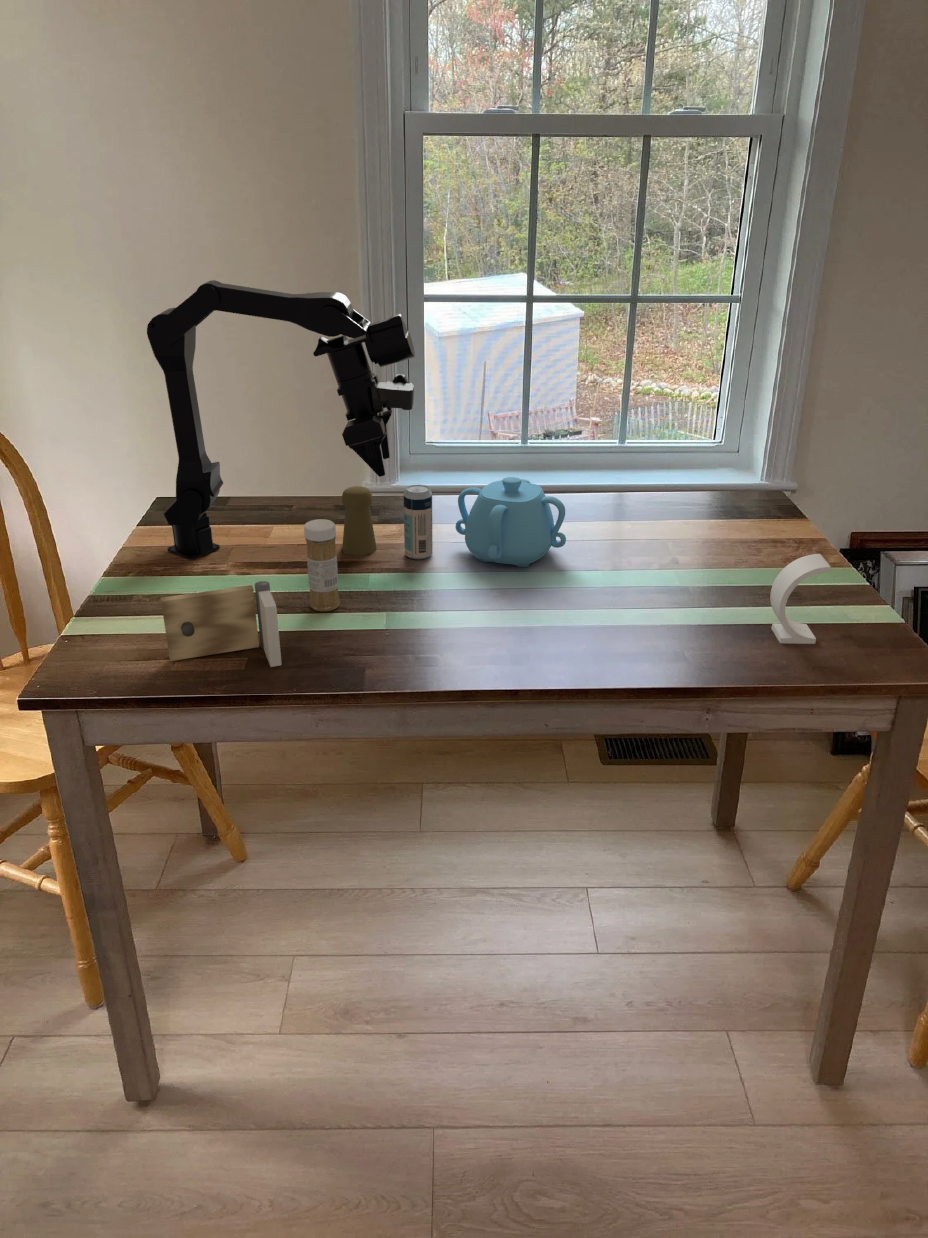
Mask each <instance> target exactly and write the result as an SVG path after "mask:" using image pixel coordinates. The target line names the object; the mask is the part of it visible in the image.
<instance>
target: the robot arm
mask: <svg viewBox="0 0 928 1238" xmlns="http://www.w3.org/2000/svg"><path fill="white" fill-rule="evenodd" d="M215 311H216V312H225V313H231V314H237V315H244V316H250V317H257V318H264V319H269V320H275V321H276V320H278V321H283V322H289V323H292V324H295V325H297V326H298V327H301V328H303V329H306V330H308V331H311V332H313V333H316V334H319V335H321V336H320V337H319V338H318V340H317V341H318V342H317V345H316V348H315V349H314V351H313V353H312V355H313V356H314V357H320V356H322V355H327V357H328V360H329V364H330V366H331V369H332V371H333V374H334V378H335V380H336V383H337V385H338V387H337V388H336V391H337V395H338V397H341V398H342V401H343V404H344V407H345V410H346V413H345V418H346V420H347V423H346V425H345V427H344V429H343V431H342V434H341V436H342V439H343V441H344V444H345V446H346V447H348V448H349V449H350V450H353V451H354V453H356V455H358V457H360V458H361V460H362V461H364V463H366V464H367V466H368V467H369V468H370V469H371V470H372V471H373V472H374V473H375V474H376V476H378V477H380V478H381V477H384V476H385V475H386V469H385V461H384V460H387V459H390V457H391V454H390V446H389V445H390V444H389V435H388V426H387V425H388V423H389V420H390V419H391V416H392V414H393V409H402V411H412V410H413V407H414V395H415V384H413V382H409V381H408V379H407V376H406V374H400V373H396V374H395V376H394V377H393V379H392V381H390V380H387V381H386V382H385V381H384V382H383V381H380V380H379V378H378V375H377V374H376V373H375V372H372V370H371V366H370V363H369V360H370V362H371V364H372V363H373V364H374V365H377V364H378V366H379V367H380V368H382V367H387V366H390V365H393V364H398V363H399V362H404V361H408V360H409V359H413V358H416V353H415V346H414V343H413V339H412V336H411V332H410V331H408V328H407V324H406V323H405V322H404V319H403V317H402V314H401V313H398V314H394V315H392V316H390V317H388V318H385V319H382V320H379V321H376V322H371V321H370V320H368V319H367V318H366V317H364V316H363V315H362V314H360V313H359V312H358V311H357V310H355V309H354V307H353V305H352V302H351V301H350V299H349V298H348V297H347V296H346V295H345V294H343V293H342V292H338V291H321V292H320V291H319V292H315V291H314V292H307V293H289V292H280V291H277V290H276V291H275V290H269V289H261V288H256V287H251V286H250V287H249V286H242V285H237V284H230V283H223V282H220V281H218V280H213V279H212V280H209V281H206V282H205V283H202V284H201V285H199V286H198V288H197V289H196V290H195V292H193V293H192V294H191V295H190V296H189V297H188V298H186V299H185V300H184V301H183V302H181V303H180V304H178V305H177V306H176V307H171V308H167V309H165V310H163V311H162V312H160V313H159V314H157V315H155V316H153V317H152V318H151V320H149V322H148V324H147V325H146V336H147V339H148V342H149V344H150V345H149V346H150V348H151V349H152V350H151V351H152V353H153V357H154V358H155V360H156V361H157V363H158V364H159V366H160V369H161V370H162V371H163V376H164V379H165V386H166V391H167V398H168V404H169V410H170V415H171V420H172V426H173V431H174V432H173V433H174V438H175V439H174V440H175V443H176V451H177V456H178V463H177V469H176V471H177V472H176V477H175V499H174V501H173V502H172V503H171V505H170V506H168V508H167V509H166V511H165V512H164V513H163V516H164V518H165V520H166V522H167V523H168V525H169V526H171V530H172V536H173V543H174V545H171V546H169V547H167V552H170V553H172V554H175V555H177V556H180V557H183V558H186V559H187V560H188V559H189V560H194V559H196V558H198V557H202V556H204V555H206V554H210V553H211V552H214V551H216V550H219V549H220V548H221V546H220V544H217V543H215V542H213V533H212V527H211V524H210V516H208V514H207V511H208V509H209V508H211V506H212V505H213V503H214V501H215V500H216V499H217V497H218V496H219V494H220V491H221V488H222V486H223V484H224V481H223V480H222V477H221V465H220V464H221V463H220V462H219V461H215V462H212V460H210V458H209V455H208V454H207V452H206V445H205V439H204V434H203V428H202V420H201V414H200V407H199V401H198V394H197V389H196V382H195V376H194V360H195V353H196V340H197V337H196V335H197V334H196V333H197V329H196V327H197V326H199V325H200V324H201V323H202V322H204V321H205V319H207V318H208V317H209V316H210V315H211V314H213V313H214V312H215ZM340 335H341V336H340ZM324 336H325V337H324ZM326 337H329V338H331V337H333V338H331V339H327V338H326ZM348 338H350V339H348ZM363 343H364V344H365V345H363ZM364 346H365V348H366V351H367V354H366V351H365V348H364ZM367 355H368V357H367ZM368 358H369V360H368ZM384 409H387V410H386V411H384Z"/></svg>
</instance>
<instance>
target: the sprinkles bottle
mask: <svg viewBox="0 0 928 1238" xmlns="http://www.w3.org/2000/svg"><path fill="white" fill-rule="evenodd" d="M303 532H304V533H303V534H304V538H305V542H306V559H307V560H306V563H307V574H308V575H307V577H308V587H309V596H310V602H309V606H310V608H311V609H313V610H314V611H317V612H332V611H334V610H335V609H337V608H338V607H339V606H340V605H341V604H340V603H341V601H340V599H339V578H338V576H339V575H338V558H337V551H336V537H337V536H336V535H337V532H336V524H335V522H333V520H330V519H325V518H323V519H322V518H320V519H317V518H316V519H312V520H309V521H307V522H306V523H305V524H304V525H303Z"/></svg>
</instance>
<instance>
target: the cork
mask: <svg viewBox="0 0 928 1238" xmlns="http://www.w3.org/2000/svg"><path fill="white" fill-rule="evenodd" d="M341 501H342V502H341V503H342V505H343V507H344V508H345V511H344V521H343V523H344V526H343V535H342V547H341V550H342V552H343V553H344V554H346V555H350V556H367V555H370V554H373V553H375V552H376V551H377V550H378V548H377V543H376V542H377V541H376V537H375V531H374V526H373V519H372V513H371V506H372V504H373V493H372V491H371V490H370V489H369V488H367V487H366V486H360V485H359V486H358V485H356V486H354V485H353V486H351V487H347V488H346V489H344V490H343V492H342V494H341Z"/></svg>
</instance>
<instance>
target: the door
mask: <svg viewBox="0 0 928 1238" xmlns="http://www.w3.org/2000/svg"><path fill="white" fill-rule="evenodd" d="M255 600H256V599H255V590H254V587H253V585H252V584H251V585H243V586H237V587H236V586H235V587H228V588H220V589H215V590H213V589H212V590H207V591H200V592H191V593H185V594H180V595H172V596H164V597H160V603H161V610H162V616H163V623H164V629H165V637H166V643H167V650H168V657H169V661H170V662H173V661H179V660H186V659H193V658H199V657H204V656H212V655H218V654H224V653H228V652H229V653H231V652H235V651H242V650H249V649H254V648H260V638H259V628H258V619H257V609H256V601H255Z"/></svg>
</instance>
